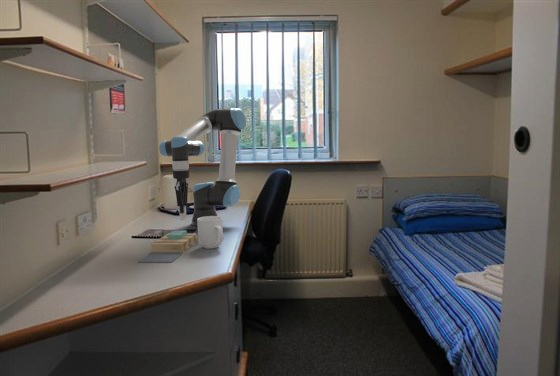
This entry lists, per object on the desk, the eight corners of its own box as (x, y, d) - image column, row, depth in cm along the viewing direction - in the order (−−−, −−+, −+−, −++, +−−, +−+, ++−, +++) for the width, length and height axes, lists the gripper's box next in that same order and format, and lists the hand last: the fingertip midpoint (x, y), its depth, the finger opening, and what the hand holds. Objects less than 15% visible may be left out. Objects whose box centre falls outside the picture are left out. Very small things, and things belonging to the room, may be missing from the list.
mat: (151, 253, 197) (151, 252, 197) (183, 253, 195) (183, 252, 195) (138, 262, 183) (137, 261, 183) (171, 262, 181) (171, 261, 181)
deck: (168, 241, 216) (167, 233, 216) (197, 241, 215) (196, 233, 214) (151, 253, 197) (151, 244, 196) (183, 253, 195) (182, 244, 194)
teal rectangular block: (174, 234, 213) (174, 230, 213) (186, 234, 212) (186, 230, 212) (167, 239, 204) (167, 234, 204) (180, 239, 203) (180, 234, 203)
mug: (233, 248, 201) (232, 219, 199) (212, 253, 194) (210, 222, 192) (214, 242, 212) (213, 214, 210) (193, 247, 205) (192, 218, 203)
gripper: (177, 169, 221) (180, 217, 224) (168, 171, 208) (170, 222, 211) (192, 168, 220) (194, 217, 223) (184, 170, 207) (186, 222, 210)
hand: (183, 219), depth 217 cm, fingers closed
